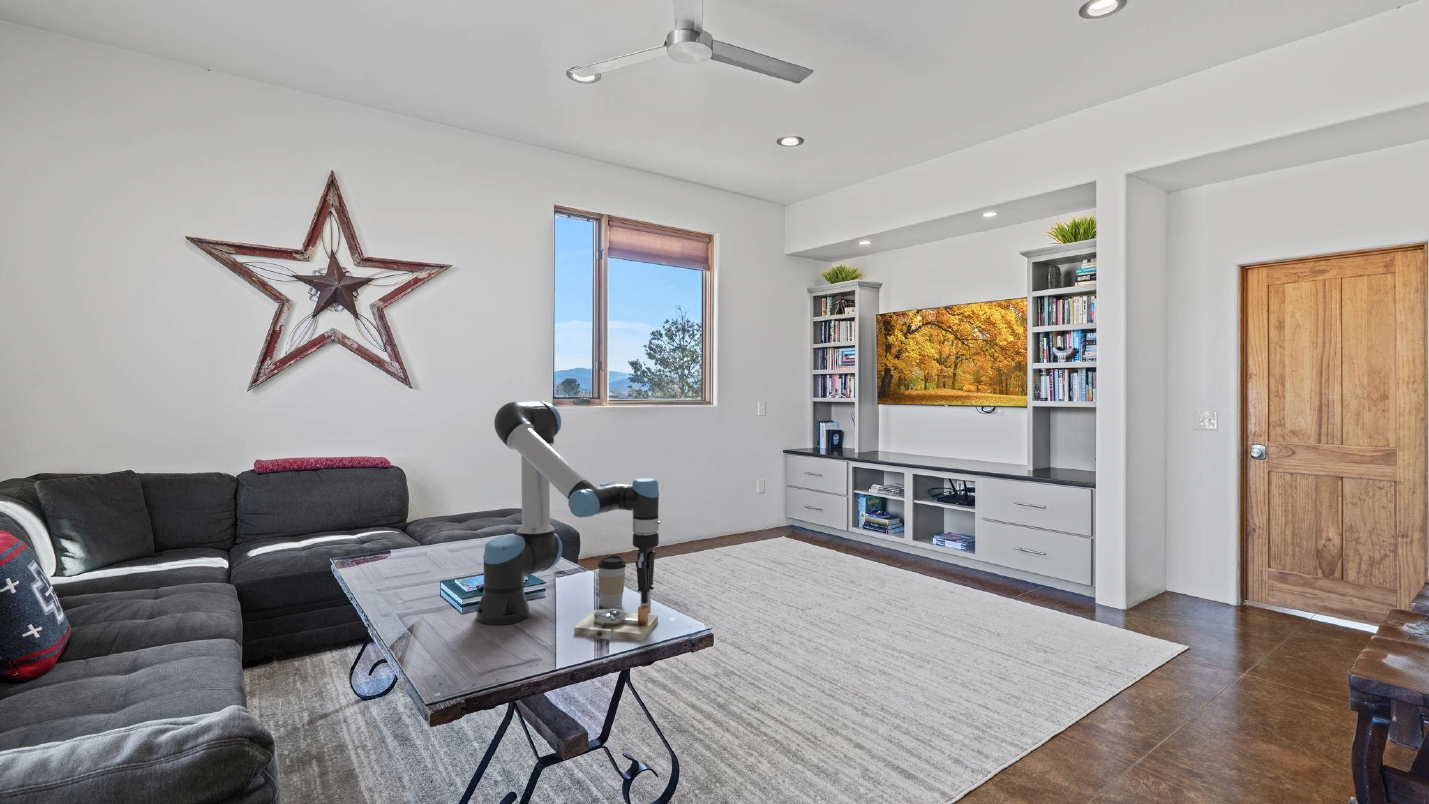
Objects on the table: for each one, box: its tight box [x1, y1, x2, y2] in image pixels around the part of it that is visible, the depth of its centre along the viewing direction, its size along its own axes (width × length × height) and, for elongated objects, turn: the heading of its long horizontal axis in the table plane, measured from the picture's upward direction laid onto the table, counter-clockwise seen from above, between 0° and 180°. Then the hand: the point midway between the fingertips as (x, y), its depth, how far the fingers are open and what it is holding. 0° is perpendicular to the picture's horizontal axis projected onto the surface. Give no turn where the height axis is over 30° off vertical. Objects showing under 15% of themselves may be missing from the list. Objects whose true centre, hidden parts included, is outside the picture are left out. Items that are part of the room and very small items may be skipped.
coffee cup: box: [597, 555, 627, 609], centre depth 220 cm, size 9×9×15 cm
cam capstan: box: [594, 605, 649, 626], centre depth 197 cm, size 16×10×5 cm, turn 80°
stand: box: [573, 609, 659, 642], centre depth 198 cm, size 20×18×2 cm
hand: (645, 612), depth 198 cm, fingers closed
